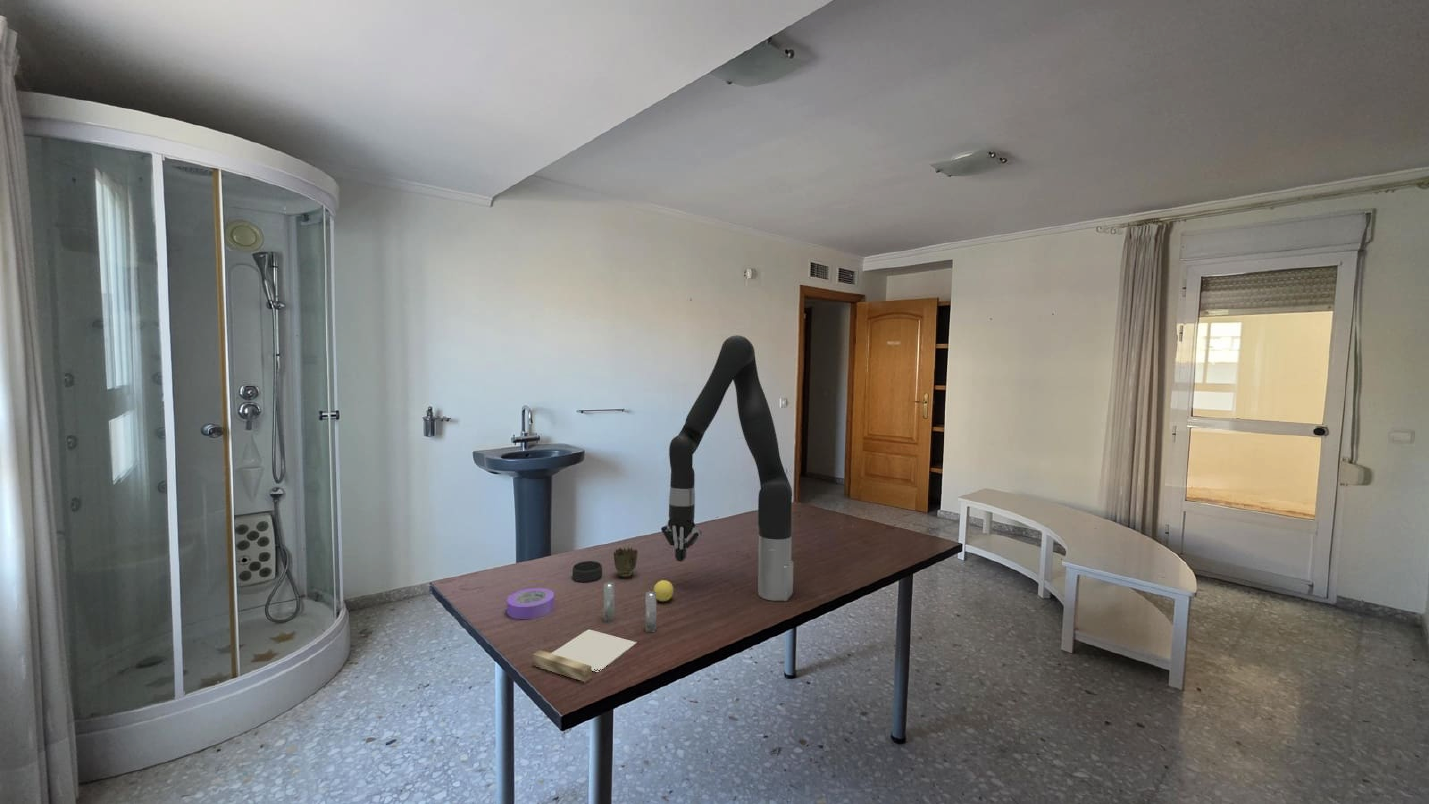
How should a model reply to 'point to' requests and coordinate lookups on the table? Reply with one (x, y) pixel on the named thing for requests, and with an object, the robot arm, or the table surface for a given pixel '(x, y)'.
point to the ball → (663, 590)
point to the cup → (625, 561)
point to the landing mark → (594, 649)
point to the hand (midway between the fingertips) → (680, 560)
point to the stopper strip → (561, 665)
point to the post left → (609, 601)
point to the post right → (650, 611)
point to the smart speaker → (587, 571)
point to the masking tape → (530, 603)
